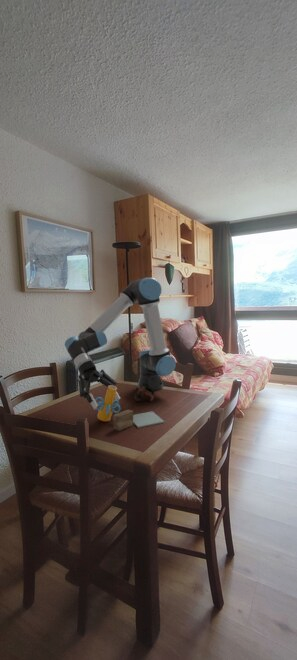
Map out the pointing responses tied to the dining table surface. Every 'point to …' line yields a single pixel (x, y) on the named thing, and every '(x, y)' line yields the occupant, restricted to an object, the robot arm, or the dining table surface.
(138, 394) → the pottery mug
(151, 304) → the robot arm
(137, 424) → the mat
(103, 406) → the yellow upright looped piece
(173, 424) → the dining table surface
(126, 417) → the tan block
